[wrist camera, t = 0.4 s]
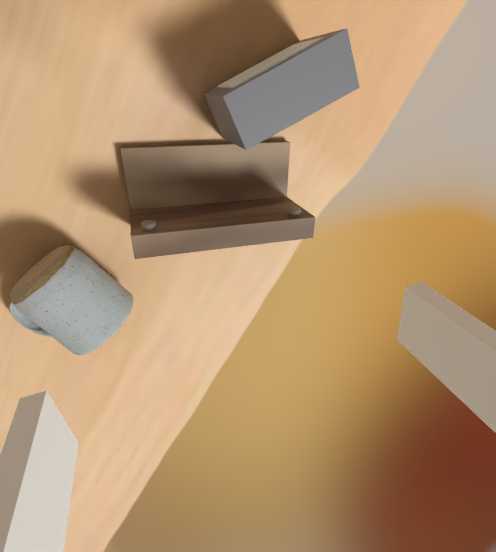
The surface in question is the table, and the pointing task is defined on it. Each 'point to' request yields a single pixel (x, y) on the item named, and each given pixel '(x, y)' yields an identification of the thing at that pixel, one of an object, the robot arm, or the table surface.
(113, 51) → the table surface
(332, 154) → the table surface
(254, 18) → the table surface
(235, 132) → the grey box
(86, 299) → the ceramic mug
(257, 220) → the wall rail
